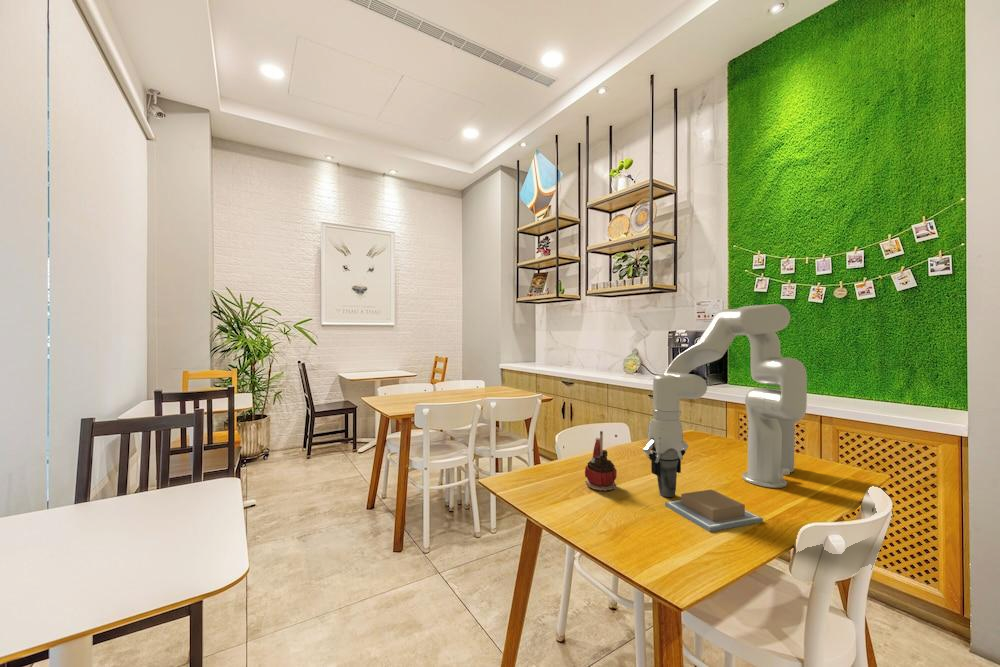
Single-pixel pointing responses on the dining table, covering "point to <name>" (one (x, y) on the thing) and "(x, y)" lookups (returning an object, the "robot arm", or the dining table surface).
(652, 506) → the dining table surface
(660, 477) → the beverage cup
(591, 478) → the cake
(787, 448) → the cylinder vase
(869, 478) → the dining table surface
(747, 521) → the brown block on tray
